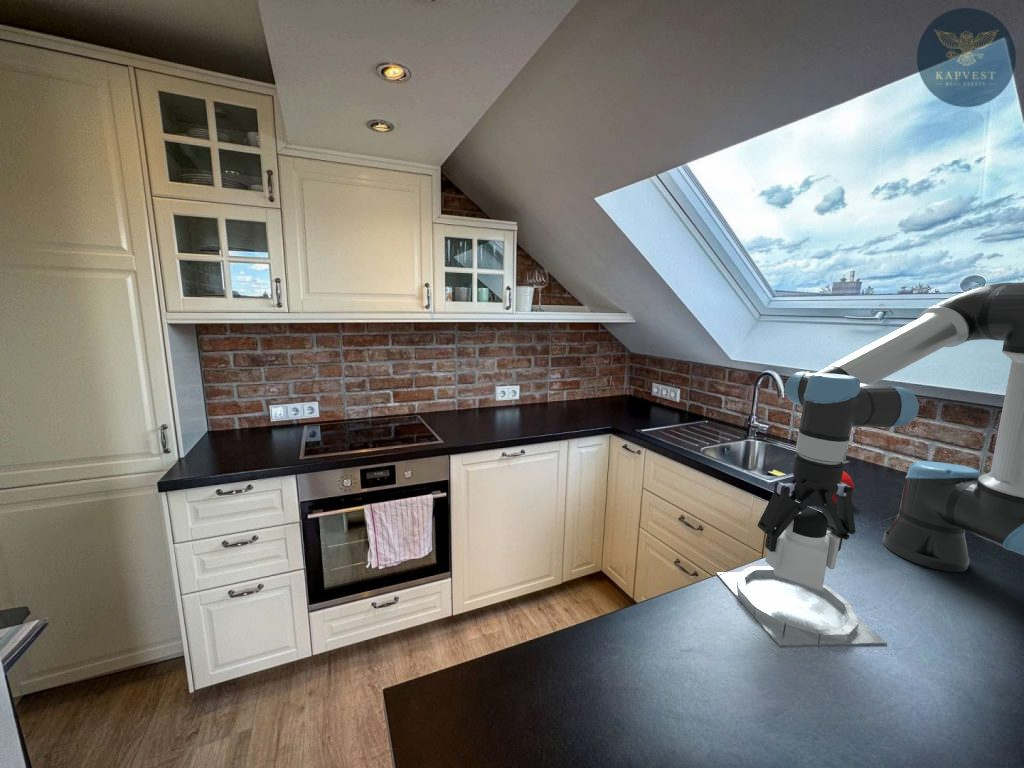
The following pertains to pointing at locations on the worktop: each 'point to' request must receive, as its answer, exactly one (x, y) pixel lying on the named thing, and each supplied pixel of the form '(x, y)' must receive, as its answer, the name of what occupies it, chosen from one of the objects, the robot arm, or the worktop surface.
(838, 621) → the duct collar
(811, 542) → the container
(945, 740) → the worktop surface
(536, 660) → the worktop surface
